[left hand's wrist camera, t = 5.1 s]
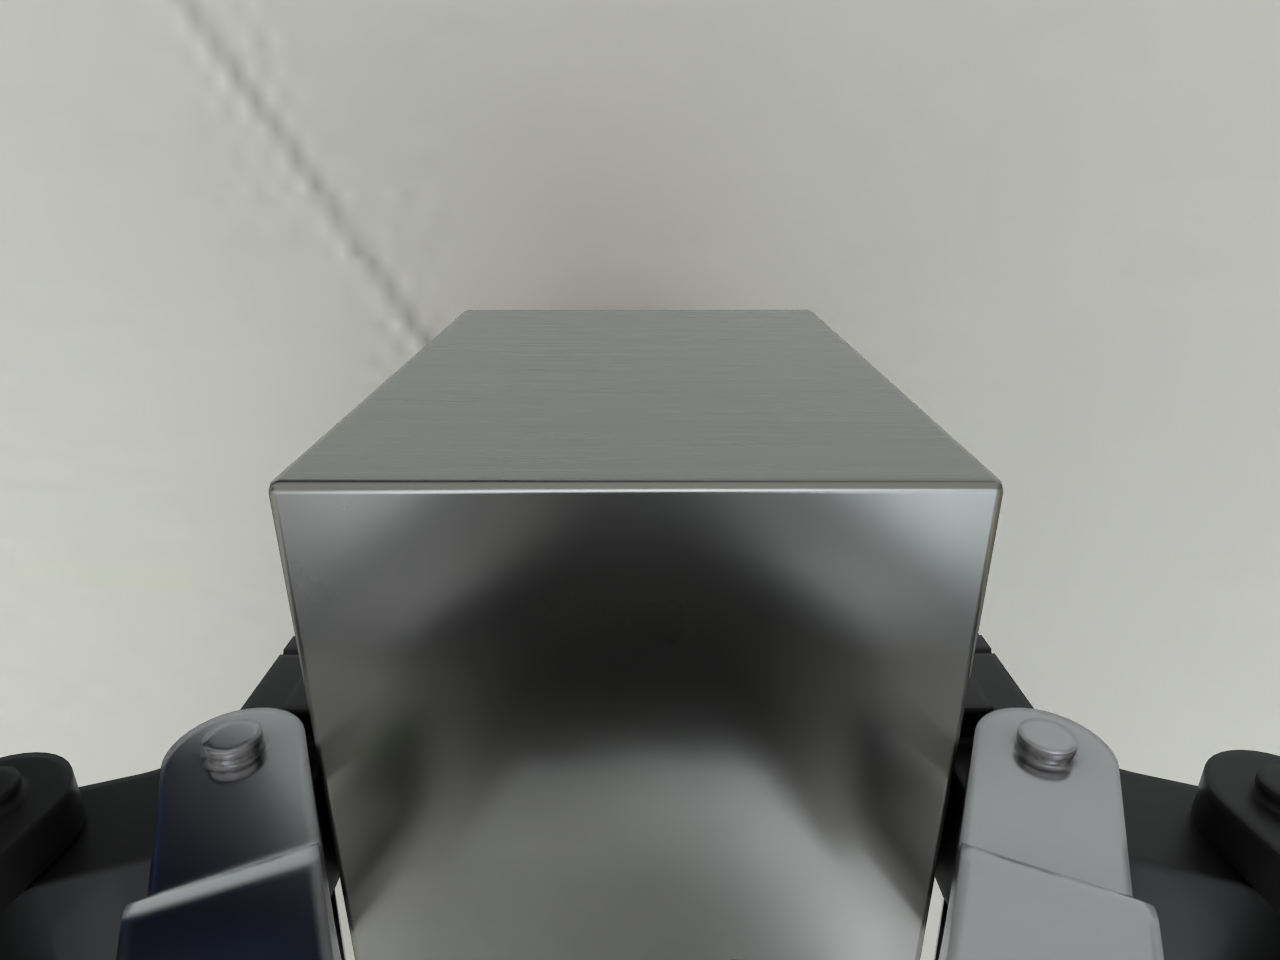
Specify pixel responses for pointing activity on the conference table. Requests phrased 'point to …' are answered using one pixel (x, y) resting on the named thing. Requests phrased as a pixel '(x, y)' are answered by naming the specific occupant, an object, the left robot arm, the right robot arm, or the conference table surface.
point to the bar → (636, 640)
